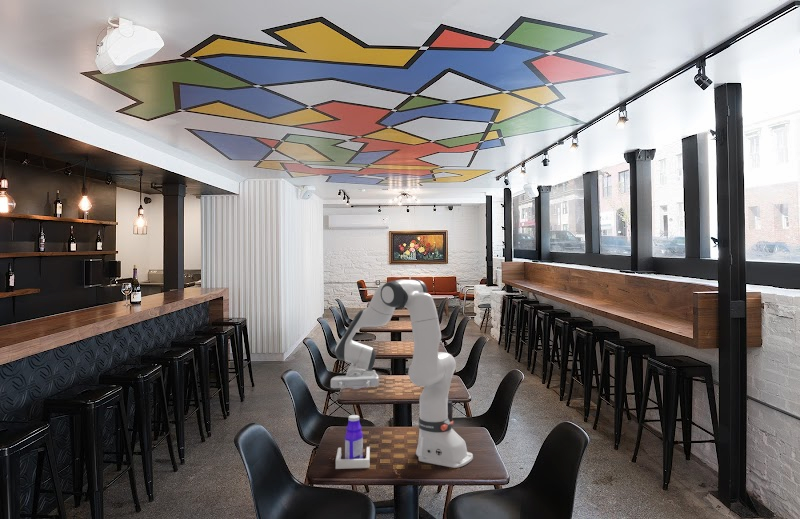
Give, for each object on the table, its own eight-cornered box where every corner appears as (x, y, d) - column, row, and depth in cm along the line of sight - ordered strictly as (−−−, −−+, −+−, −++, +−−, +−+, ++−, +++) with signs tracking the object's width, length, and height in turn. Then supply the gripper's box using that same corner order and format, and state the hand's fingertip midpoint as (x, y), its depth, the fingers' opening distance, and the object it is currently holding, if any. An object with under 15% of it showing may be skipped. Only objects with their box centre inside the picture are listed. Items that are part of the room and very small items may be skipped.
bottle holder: (338, 455, 189) (338, 447, 189) (369, 454, 189) (369, 446, 189) (335, 468, 176) (335, 460, 176) (369, 467, 177) (369, 459, 177)
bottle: (353, 457, 187) (353, 412, 187) (365, 460, 184) (365, 414, 184) (342, 464, 181) (341, 417, 181) (354, 467, 178) (353, 420, 178)
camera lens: (433, 437, 207) (432, 402, 207) (435, 430, 215) (435, 397, 215) (451, 438, 205) (451, 403, 205) (453, 431, 213) (453, 398, 213)
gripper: (331, 371, 207) (328, 379, 194) (378, 369, 209) (378, 377, 195) (331, 386, 207) (328, 395, 194) (379, 384, 208) (379, 392, 195)
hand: (354, 386), depth 194 cm, fingers open, 8 cm apart
